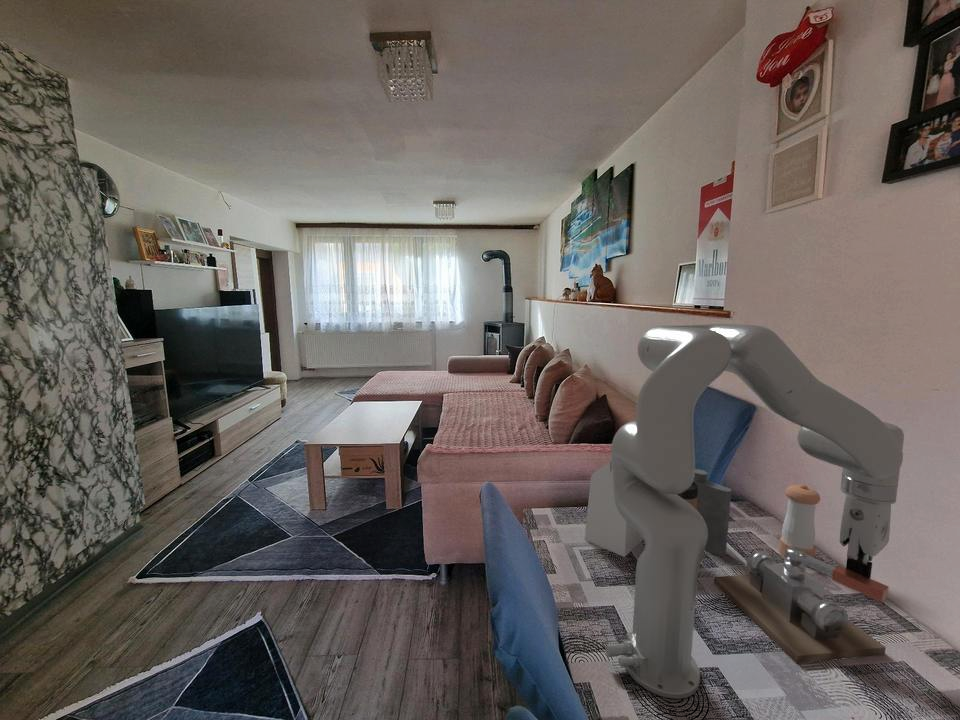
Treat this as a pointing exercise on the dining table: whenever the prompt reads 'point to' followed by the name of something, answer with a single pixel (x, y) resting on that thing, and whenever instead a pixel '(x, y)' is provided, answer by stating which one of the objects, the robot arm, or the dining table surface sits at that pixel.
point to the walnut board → (796, 627)
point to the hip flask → (713, 511)
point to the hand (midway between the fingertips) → (857, 578)
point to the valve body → (796, 595)
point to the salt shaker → (799, 520)
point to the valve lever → (840, 574)
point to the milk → (608, 516)
